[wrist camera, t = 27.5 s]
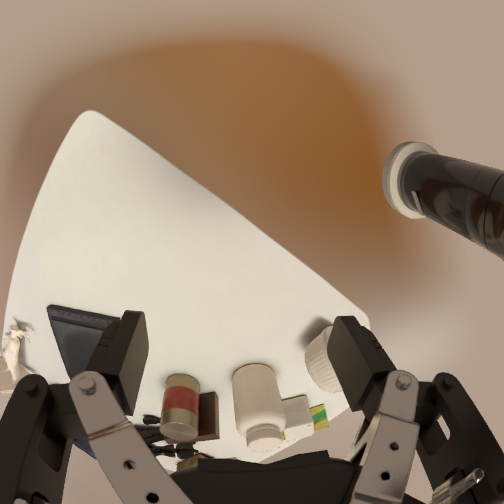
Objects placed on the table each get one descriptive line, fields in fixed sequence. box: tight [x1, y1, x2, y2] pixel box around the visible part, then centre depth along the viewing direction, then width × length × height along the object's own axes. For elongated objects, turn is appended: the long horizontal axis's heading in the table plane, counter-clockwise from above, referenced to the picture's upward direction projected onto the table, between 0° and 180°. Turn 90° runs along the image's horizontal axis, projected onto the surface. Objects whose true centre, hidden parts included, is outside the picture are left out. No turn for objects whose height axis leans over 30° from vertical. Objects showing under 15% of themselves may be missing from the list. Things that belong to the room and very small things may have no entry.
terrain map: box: [280, 404, 329, 440], centre depth 56 cm, size 12×12×1 cm
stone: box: [177, 454, 206, 471], centre depth 58 cm, size 14×7×5 cm
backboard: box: [164, 392, 220, 444], centre depth 45 cm, size 2×10×10 cm, turn 104°
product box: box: [282, 396, 314, 441], centre depth 49 cm, size 6×6×7 cm
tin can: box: [159, 374, 200, 441], centre depth 42 cm, size 6×6×11 cm
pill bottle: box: [232, 364, 286, 452], centre depth 41 cm, size 8×8×15 cm
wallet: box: [47, 305, 120, 380], centre depth 42 cm, size 20×2×15 cm
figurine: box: [0, 325, 31, 397], centre depth 38 cm, size 16×12×20 cm
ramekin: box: [305, 326, 343, 393], centre depth 42 cm, size 11×11×5 cm
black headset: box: [137, 416, 199, 459], centre depth 51 cm, size 10×14×18 cm
